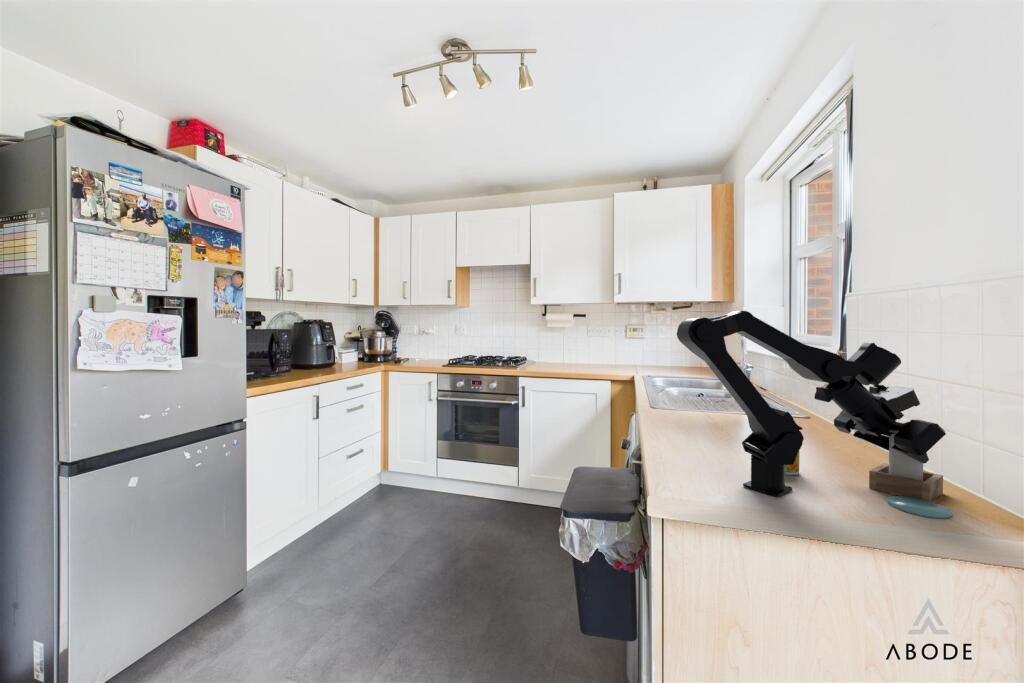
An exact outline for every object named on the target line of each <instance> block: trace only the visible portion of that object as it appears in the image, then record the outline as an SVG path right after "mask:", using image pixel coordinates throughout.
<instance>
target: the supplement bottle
mask: <svg viewBox="0 0 1024 683" xmlns="http://www.w3.org/2000/svg"><path fill="white" fill-rule="evenodd" d="M799 473H800V450H799V451H798V453H797V456H796V459H795V461H794V464H793V465H785V475H786V476H796V475H799Z"/></svg>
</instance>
